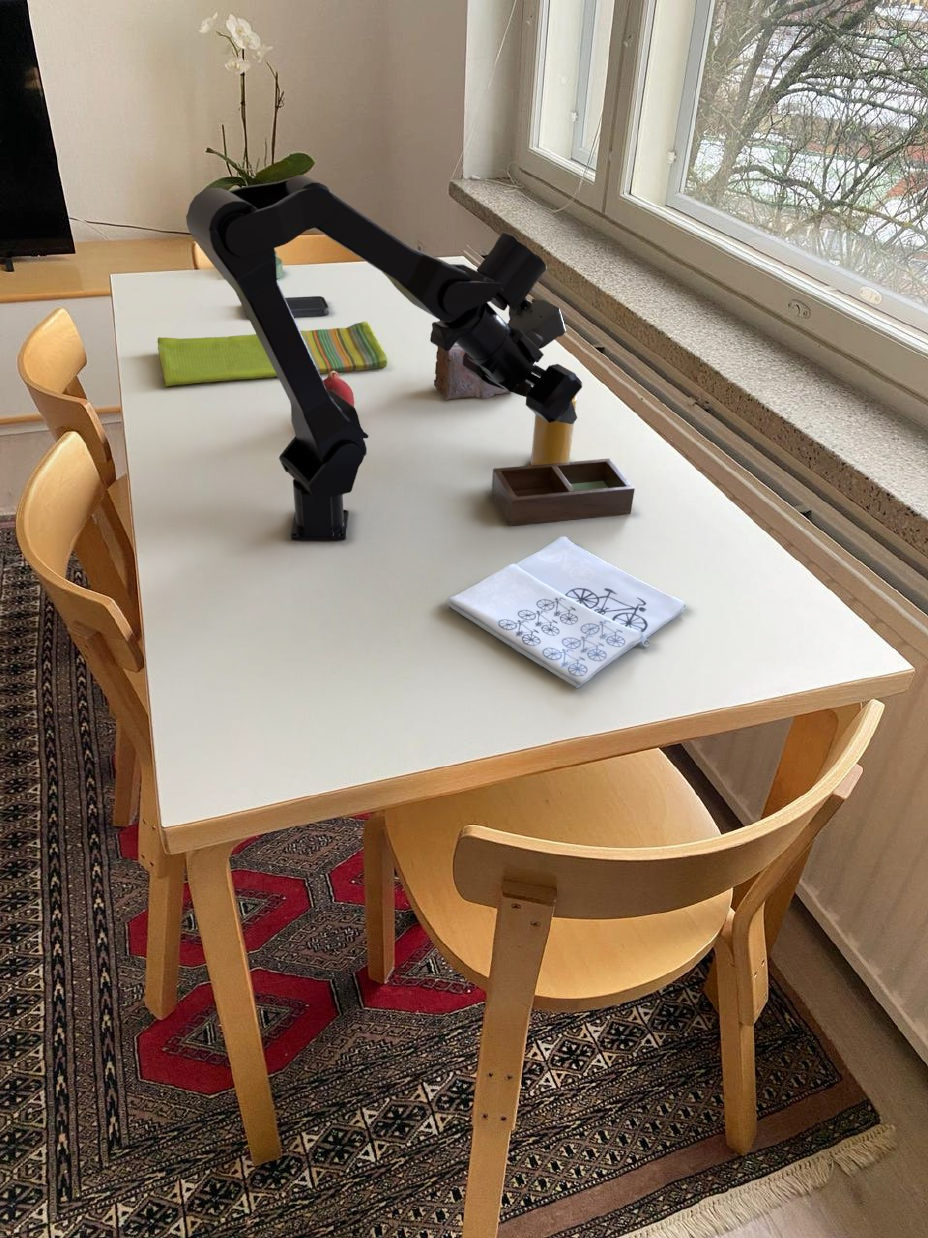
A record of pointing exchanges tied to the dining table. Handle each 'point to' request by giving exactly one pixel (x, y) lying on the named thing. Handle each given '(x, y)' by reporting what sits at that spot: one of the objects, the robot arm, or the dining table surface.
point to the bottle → (551, 441)
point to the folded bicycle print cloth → (567, 610)
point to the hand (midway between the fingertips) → (552, 407)
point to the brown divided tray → (561, 491)
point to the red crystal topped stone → (459, 377)
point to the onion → (339, 387)
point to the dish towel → (265, 355)
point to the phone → (307, 306)
